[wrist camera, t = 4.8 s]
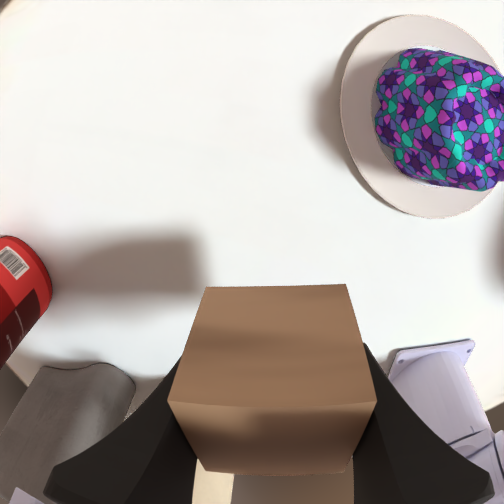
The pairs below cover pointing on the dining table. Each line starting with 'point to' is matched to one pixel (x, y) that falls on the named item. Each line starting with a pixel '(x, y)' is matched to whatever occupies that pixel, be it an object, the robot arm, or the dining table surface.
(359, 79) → the pudding
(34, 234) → the dining table surface
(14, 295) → the canned food
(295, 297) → the walnut block
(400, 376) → the robot arm
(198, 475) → the character mug
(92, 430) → the flask
